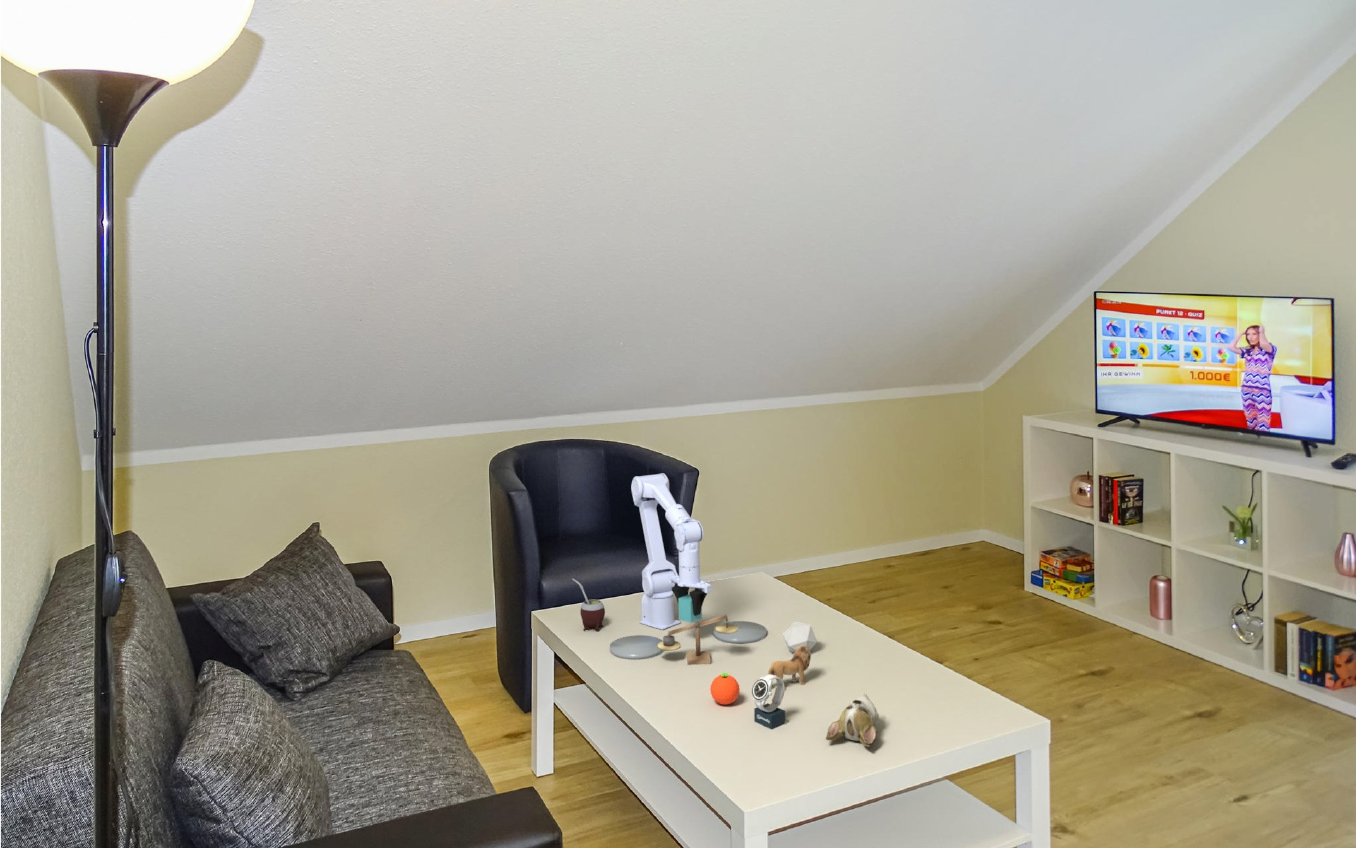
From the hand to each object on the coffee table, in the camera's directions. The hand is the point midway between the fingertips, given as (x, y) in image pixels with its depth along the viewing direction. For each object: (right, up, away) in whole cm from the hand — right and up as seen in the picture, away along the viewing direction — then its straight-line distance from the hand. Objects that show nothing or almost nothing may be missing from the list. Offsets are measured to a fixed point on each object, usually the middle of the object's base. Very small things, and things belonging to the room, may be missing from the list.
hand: (690, 612), depth 281 cm
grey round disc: (+14, -7, +7) cm, 18 cm away
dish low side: (-15, -10, -3) cm, 18 cm away
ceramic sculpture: (+36, -17, -58) cm, 70 cm away
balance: (+2, -10, -11) cm, 15 cm away
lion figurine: (+24, -13, -29) cm, 39 cm away
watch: (+17, -16, -50) cm, 55 cm away
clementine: (+8, -15, -38) cm, 42 cm away
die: (+29, -9, -7) cm, 32 cm away
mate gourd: (-29, -8, +14) cm, 33 cm away
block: (0, -2, 0) cm, 2 cm away
